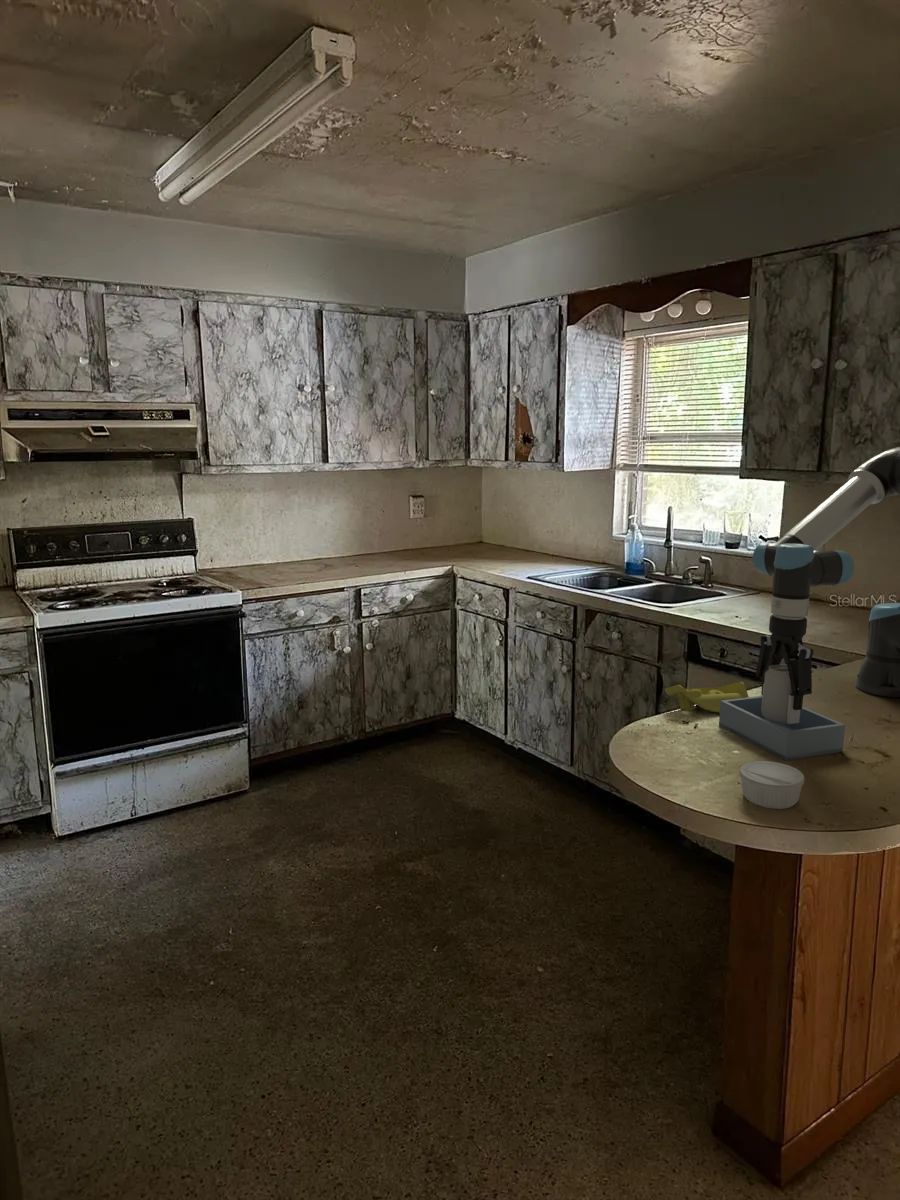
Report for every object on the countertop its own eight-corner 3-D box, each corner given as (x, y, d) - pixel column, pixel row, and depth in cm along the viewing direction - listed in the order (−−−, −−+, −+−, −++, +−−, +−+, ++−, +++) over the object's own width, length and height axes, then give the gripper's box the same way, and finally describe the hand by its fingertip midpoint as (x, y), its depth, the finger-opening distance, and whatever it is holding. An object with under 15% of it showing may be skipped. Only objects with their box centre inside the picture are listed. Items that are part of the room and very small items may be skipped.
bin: (771, 718, 199) (774, 694, 198) (842, 751, 179) (845, 724, 177) (718, 725, 194) (720, 700, 193) (785, 760, 174) (787, 732, 172)
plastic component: (720, 687, 216) (747, 680, 207) (725, 715, 214) (752, 710, 205) (656, 690, 208) (682, 683, 199) (661, 720, 206) (687, 714, 197)
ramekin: (742, 809, 152) (744, 782, 150) (734, 784, 162) (736, 758, 161) (807, 815, 149) (810, 787, 148) (795, 789, 160) (797, 763, 159)
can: (805, 723, 183) (810, 670, 181) (775, 726, 181) (780, 673, 178) (782, 712, 190) (787, 661, 188) (754, 715, 188) (758, 663, 185)
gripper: (743, 607, 189) (735, 704, 193) (808, 627, 170) (798, 734, 175) (770, 605, 191) (762, 701, 196) (838, 624, 173) (827, 730, 177)
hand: (779, 716), depth 185 cm, fingers closed on can, 7 cm apart
